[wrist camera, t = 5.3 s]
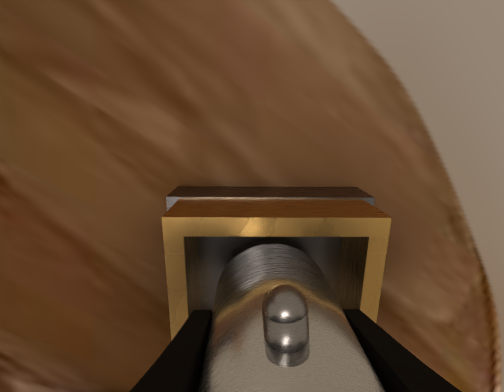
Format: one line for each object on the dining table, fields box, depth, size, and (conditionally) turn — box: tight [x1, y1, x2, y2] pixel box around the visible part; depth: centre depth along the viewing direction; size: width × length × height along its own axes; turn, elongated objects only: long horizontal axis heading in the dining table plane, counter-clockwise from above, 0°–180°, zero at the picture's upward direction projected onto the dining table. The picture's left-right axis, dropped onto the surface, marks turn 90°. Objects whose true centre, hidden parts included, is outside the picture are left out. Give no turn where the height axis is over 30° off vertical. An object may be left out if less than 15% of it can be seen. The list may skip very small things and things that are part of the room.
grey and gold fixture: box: [162, 187, 392, 341], centre depth 13 cm, size 12×9×4 cm
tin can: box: [198, 244, 385, 392], centre depth 8 cm, size 6×4×6 cm
